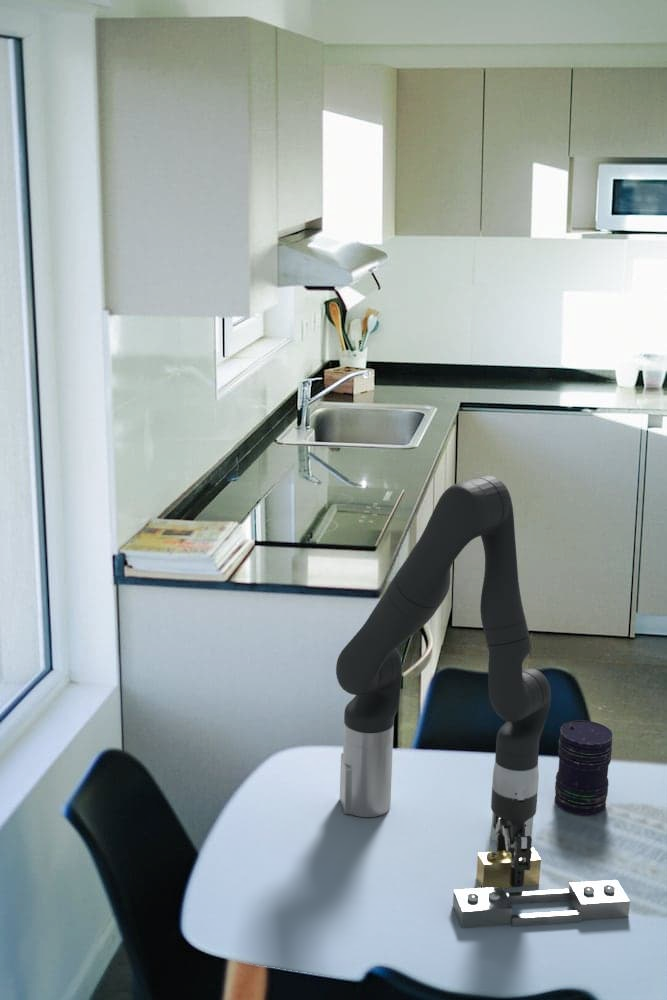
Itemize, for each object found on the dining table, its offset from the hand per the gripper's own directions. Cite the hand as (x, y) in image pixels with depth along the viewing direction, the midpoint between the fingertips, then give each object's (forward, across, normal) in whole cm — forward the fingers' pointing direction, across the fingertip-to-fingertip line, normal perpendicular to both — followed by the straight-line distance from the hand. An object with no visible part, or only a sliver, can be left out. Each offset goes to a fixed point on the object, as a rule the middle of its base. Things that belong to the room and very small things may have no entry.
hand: (509, 871), depth 212 cm
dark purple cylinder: (+2, -24, +21) cm, 32 cm away
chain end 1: (+2, +9, -4) cm, 10 cm away
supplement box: (+2, -15, +5) cm, 16 cm away
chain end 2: (+2, +9, +10) cm, 13 cm away
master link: (+2, 0, 0) cm, 2 cm away
